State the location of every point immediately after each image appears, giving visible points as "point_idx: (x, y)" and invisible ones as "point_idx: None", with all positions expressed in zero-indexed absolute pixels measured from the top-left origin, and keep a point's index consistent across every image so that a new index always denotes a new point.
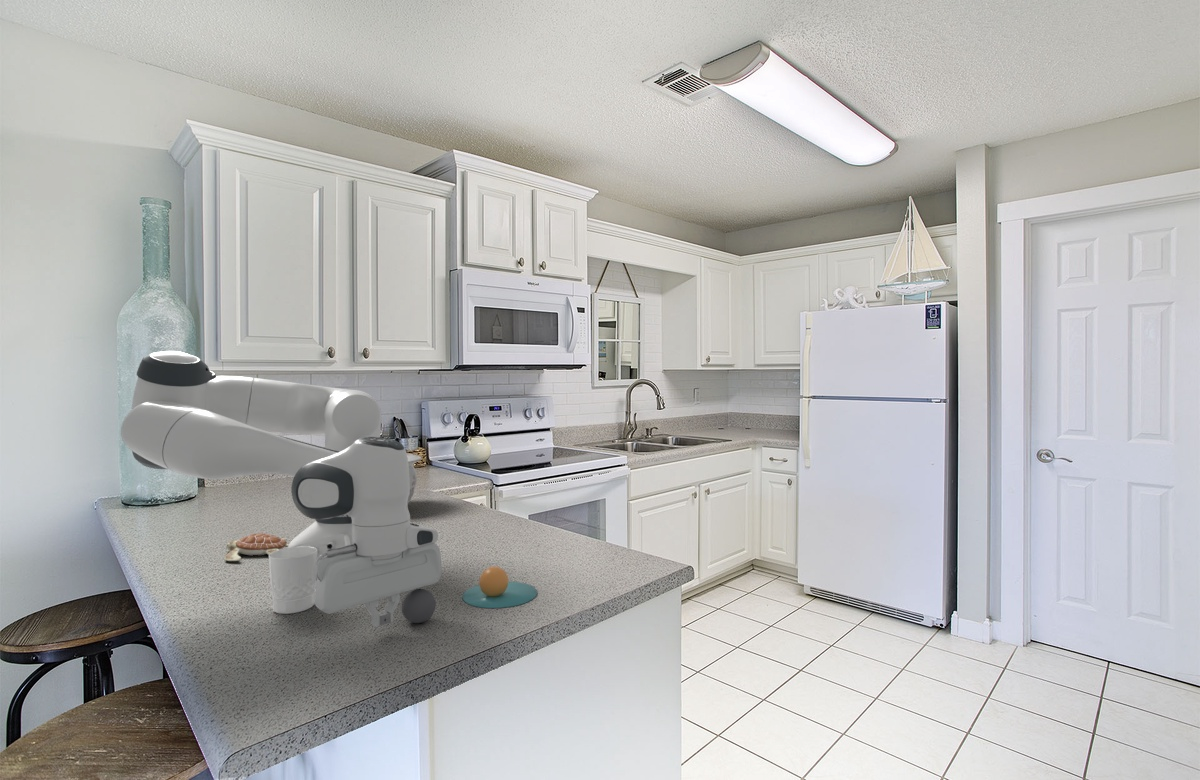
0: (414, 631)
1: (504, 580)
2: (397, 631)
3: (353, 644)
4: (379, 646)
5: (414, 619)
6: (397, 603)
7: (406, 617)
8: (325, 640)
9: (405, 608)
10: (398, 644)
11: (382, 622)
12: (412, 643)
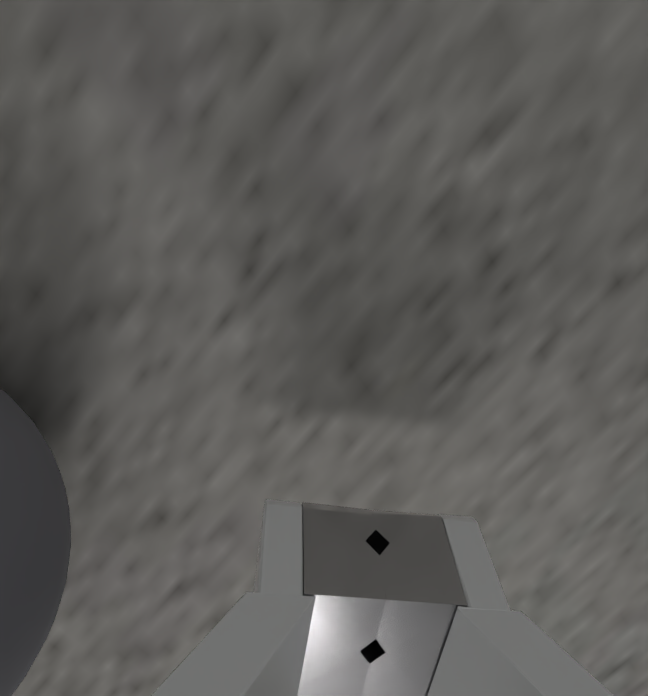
0: (104, 282)
1: None
2: (223, 418)
3: (625, 490)
4: (567, 275)
5: (13, 404)
6: (175, 685)
7: (66, 499)
8: (643, 672)
9: (40, 587)
10: (437, 142)
11: (408, 531)
12: (328, 7)
